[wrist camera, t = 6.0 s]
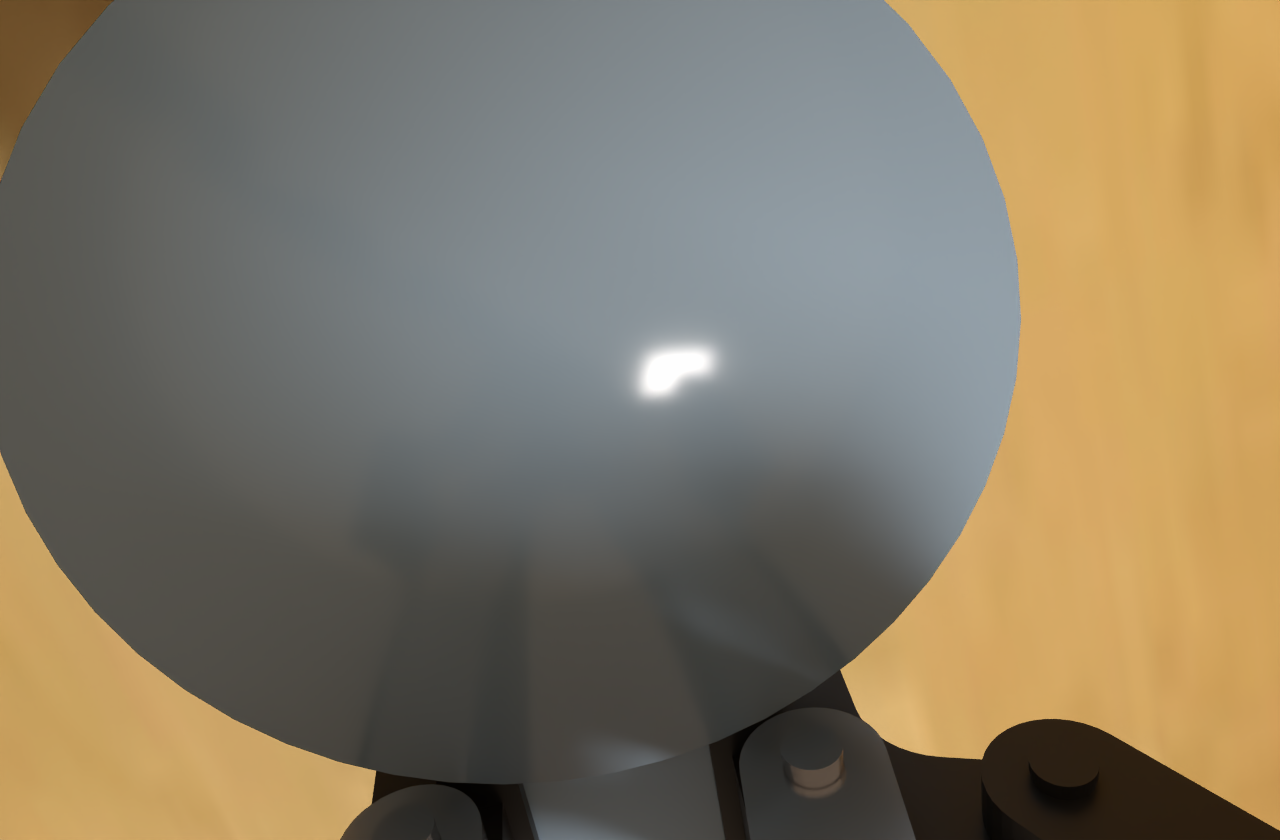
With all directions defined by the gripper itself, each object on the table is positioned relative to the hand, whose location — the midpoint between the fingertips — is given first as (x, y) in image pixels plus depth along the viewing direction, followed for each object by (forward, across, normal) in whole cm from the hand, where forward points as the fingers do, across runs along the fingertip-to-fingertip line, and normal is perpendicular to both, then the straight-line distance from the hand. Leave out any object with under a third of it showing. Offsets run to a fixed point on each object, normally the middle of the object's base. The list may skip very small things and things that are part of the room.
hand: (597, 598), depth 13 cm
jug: (+5, 0, -3) cm, 6 cm away
